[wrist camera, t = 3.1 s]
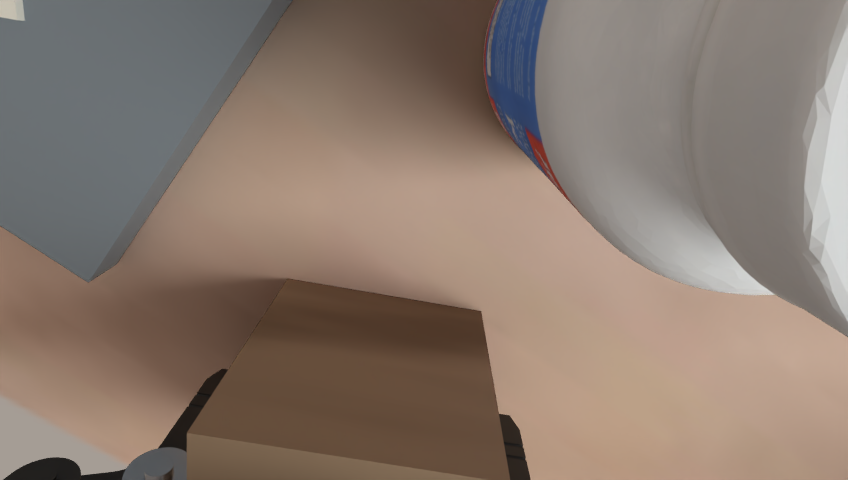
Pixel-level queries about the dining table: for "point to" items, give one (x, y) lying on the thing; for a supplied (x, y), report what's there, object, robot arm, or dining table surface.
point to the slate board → (110, 111)
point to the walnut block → (353, 394)
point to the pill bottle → (691, 133)
